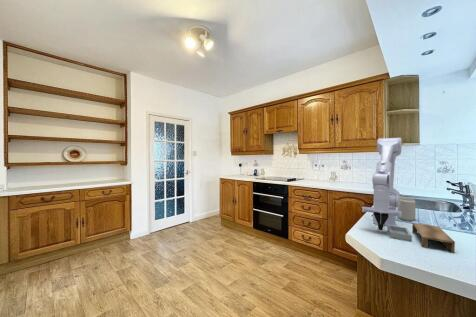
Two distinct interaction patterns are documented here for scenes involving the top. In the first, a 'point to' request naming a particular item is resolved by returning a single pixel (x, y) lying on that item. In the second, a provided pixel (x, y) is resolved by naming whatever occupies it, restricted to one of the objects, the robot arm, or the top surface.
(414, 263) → the top surface
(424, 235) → the shelf
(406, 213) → the can
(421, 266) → the top surface
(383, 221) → the robot arm
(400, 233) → the tray
